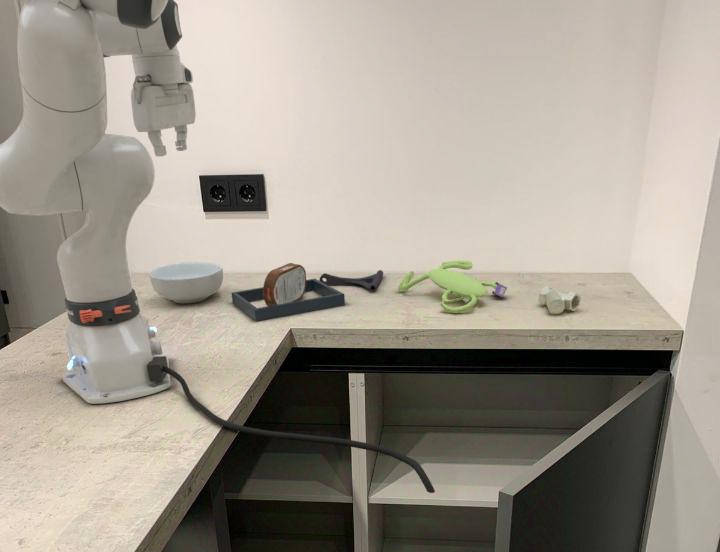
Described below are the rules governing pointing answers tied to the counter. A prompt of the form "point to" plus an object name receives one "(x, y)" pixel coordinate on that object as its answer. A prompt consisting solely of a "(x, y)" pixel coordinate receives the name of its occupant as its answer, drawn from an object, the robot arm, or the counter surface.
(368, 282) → the bracket
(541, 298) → the pipe fitting
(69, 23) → the robot arm
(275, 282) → the tin
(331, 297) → the tray
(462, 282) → the figurine
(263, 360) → the counter surface
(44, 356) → the counter surface
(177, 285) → the cereal bowl
